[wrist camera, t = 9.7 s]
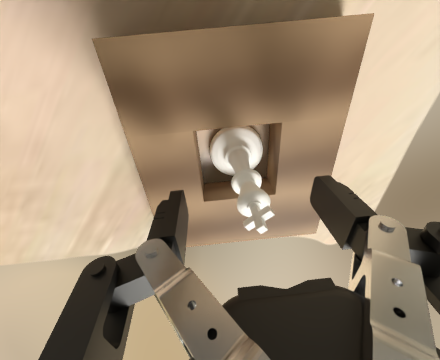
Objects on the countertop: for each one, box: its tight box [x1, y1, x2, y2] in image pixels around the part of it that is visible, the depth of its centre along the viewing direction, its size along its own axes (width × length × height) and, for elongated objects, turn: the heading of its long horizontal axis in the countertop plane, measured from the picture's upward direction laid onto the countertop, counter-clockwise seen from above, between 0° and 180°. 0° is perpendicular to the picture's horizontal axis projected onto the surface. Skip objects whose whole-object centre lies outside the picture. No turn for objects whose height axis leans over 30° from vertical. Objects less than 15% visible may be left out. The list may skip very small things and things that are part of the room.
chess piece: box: [210, 126, 275, 234], centre depth 14 cm, size 5×5×10 cm
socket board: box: [92, 13, 374, 247], centre depth 17 cm, size 18×16×3 cm
